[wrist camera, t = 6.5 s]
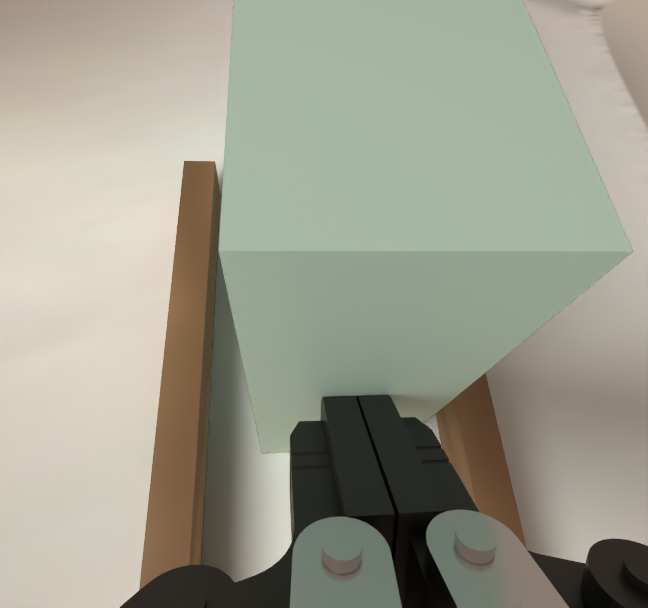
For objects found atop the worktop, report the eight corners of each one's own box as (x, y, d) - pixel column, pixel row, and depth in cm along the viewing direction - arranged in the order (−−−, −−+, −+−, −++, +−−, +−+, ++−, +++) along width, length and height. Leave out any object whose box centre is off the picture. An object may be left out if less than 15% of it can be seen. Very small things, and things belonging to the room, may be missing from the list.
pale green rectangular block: (262, 453, 15) (218, 250, 5) (264, 90, 23) (251, -283, 13) (393, 447, 16) (633, 251, 5) (350, 93, 24) (407, -264, 13)
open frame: (119, 1019, 10) (83, 1125, 8) (192, 194, 20) (184, 161, 18) (577, 939, 11) (636, 1018, 9) (423, 196, 21) (436, 165, 19)
